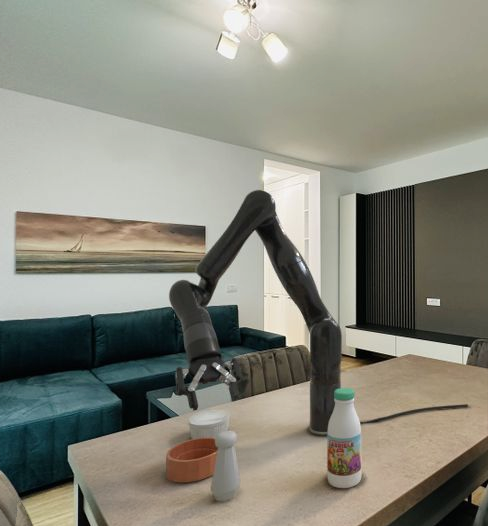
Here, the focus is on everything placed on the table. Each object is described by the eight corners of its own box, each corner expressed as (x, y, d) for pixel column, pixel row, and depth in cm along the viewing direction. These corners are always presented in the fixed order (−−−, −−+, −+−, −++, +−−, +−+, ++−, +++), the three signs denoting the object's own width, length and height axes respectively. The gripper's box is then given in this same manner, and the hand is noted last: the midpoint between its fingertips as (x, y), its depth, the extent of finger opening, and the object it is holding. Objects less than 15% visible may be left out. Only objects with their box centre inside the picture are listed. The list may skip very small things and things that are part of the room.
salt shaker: (229, 505, 75) (230, 440, 75) (204, 502, 76) (205, 438, 76) (245, 489, 81) (245, 428, 81) (221, 486, 82) (222, 426, 82)
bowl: (231, 457, 95) (231, 437, 95) (208, 484, 82) (208, 461, 83) (184, 456, 95) (184, 437, 95) (154, 483, 83) (154, 460, 83)
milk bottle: (328, 471, 88) (327, 385, 88) (360, 469, 88) (360, 384, 89) (326, 490, 80) (326, 396, 81) (362, 488, 81) (362, 395, 81)
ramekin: (203, 447, 100) (203, 427, 101) (179, 437, 106) (179, 419, 106) (238, 432, 110) (238, 414, 110) (214, 424, 116) (214, 407, 116)
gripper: (172, 340, 87) (184, 403, 79) (233, 332, 96) (251, 388, 87) (168, 358, 92) (179, 420, 83) (227, 349, 100) (243, 404, 92)
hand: (216, 403), depth 85 cm, fingers open, 8 cm apart
